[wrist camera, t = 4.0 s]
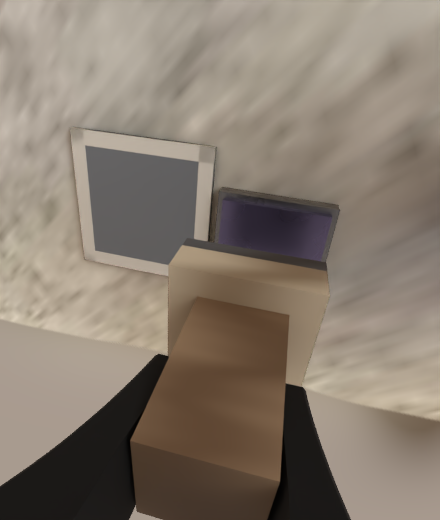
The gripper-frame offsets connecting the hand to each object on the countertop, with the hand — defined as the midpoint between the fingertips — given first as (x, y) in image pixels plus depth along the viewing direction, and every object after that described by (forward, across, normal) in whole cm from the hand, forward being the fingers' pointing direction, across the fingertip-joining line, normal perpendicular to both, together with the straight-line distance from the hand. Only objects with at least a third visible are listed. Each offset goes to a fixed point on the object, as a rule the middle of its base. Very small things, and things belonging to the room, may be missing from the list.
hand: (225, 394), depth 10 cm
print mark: (+10, +7, -1) cm, 13 cm away
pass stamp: (+4, 0, 0) cm, 4 cm away
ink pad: (+10, 0, 0) cm, 10 cm away
